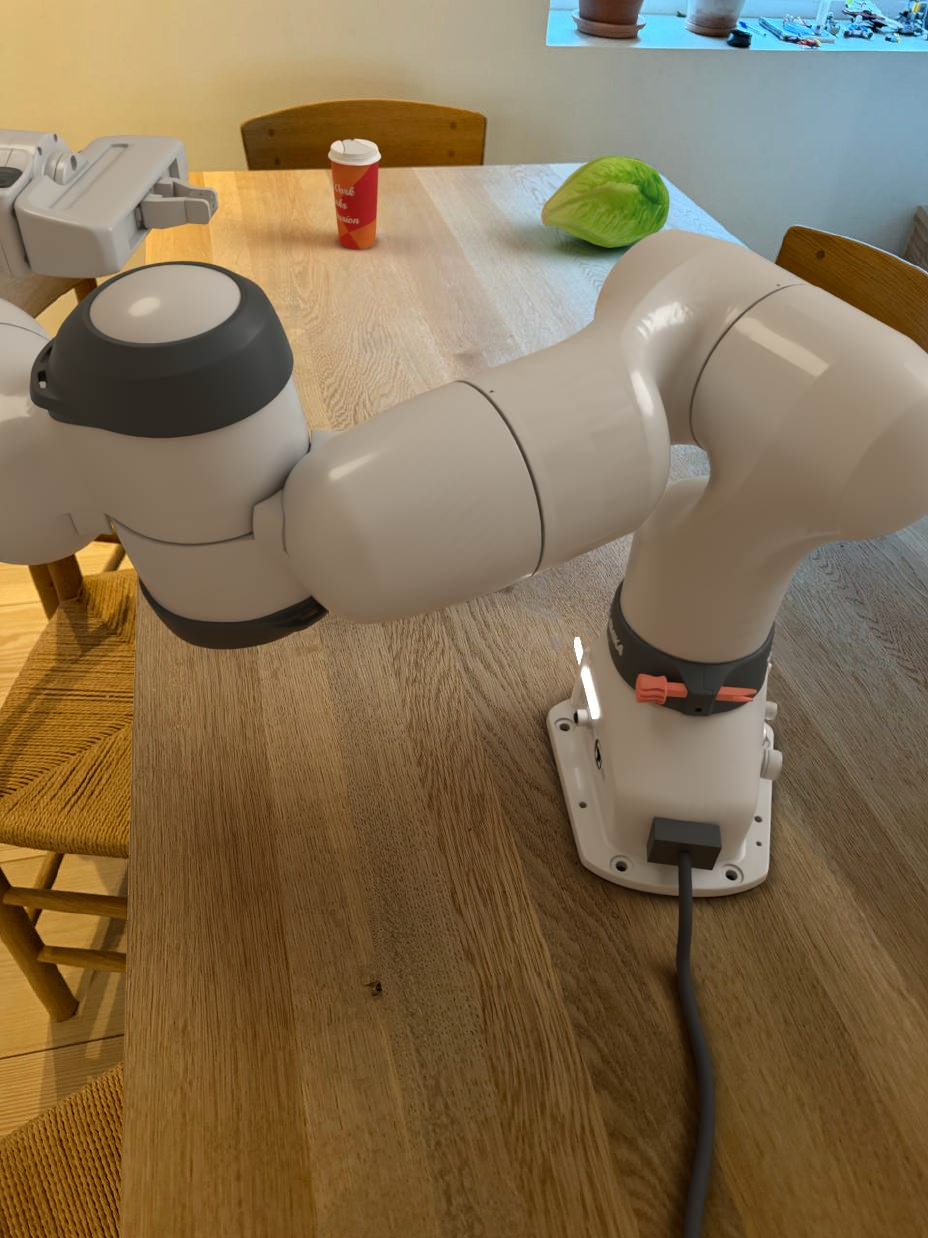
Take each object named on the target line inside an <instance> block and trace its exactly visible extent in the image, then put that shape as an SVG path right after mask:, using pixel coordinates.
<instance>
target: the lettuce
mask: <svg viewBox="0 0 928 1238" xmlns="http://www.w3.org/2000/svg"><path fill="white" fill-rule="evenodd" d="M669 212H670V193H669V190H668V188H667V186H666V184H665V182H664V180H663V179H662V177H661V175H660V173H659V172H658V170H657V169H655V168H654V167H653V166H651V165H649V164H647V163H645V162H644V161H642V160H641V159H639V158H634V157H630V156H622V155H608V156H607V155H606V156H600V157H599V156H598V157H596V158H594V159H592V160H591V161H588V162H587V163H584V164H582V165H581V166H579V167H578V168H577V169H576V170H575V171H573V172H572V173H571V174H570V175H569V176H567V178H566V179H565V180H564V182H563V183H561V185H560V186H559V187H558V189H557V190H556V191H555V192H554V193H553V194H552V195H551V196H550V197H549V198H548V199H547V201H546V202H545V203H544V205H543V207H542V209H541V213H540V215H541V216H540V217H541V221H542V224H543V225H544V226H546V227H555V228H558V229H560V230H563V231H565V232H566V233H567V234H569V235H571V236H574V237H575V238H578V239H580V240H584V241H586V242H588V243H590V244H593V245H596V246H599V247H602V248H606V249H609V248H610V249H611V248H621V247H627V246H631V245H632V246H634V245H635V244H636V243H638V242H639V241H640V240H642V239H644V238H645V237H647V236H649V235H651V234H653V233H656V232H659V231H661V229H663V228H664V226H665V225H666V223H667V220H668V218H669Z"/></svg>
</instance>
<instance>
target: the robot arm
mask: <svg viewBox="0 0 928 1238" xmlns="http://www.w3.org/2000/svg"><path fill="white" fill-rule="evenodd" d="M187 159H188V157H187V151H186V148H185V144H184V142H183V141H182V140H180V139H178V138H176V137H172V136H169V135H168V136H167V135H146V134H145V135H143V134H142V135H139V134H138V135H137V134H136V135H134V134H117V135H116V134H115V135H106V136H105V135H104V136H100V137H97V138H95V139H93V140H92V141H90V142H89V143H88V144H87V145H86V146H85V147H84V148H83V149H81V150H78V151H72V150H71V148H70V147H69V145H68V143H67V142H66V141H65V140H64V139H63V137H61V136H60V135H59V134H58V133H55V132H50V131H37V130H25V129H24V130H23V129H9V128H0V267H1V270H2V273H3V275H4V276H5V277H7V278H9V279H10V278H12V279H29V278H31V277H33V276H34V275H35V274H37V275H40V276H43V277H53V278H68V279H70V278H71V279H100V278H105V277H109V276H112V275H114V276H112V277H110V278H108V279H106V280H105V281H103V282H102V283H100V284H99V285H97V287H95V288H94V289H93V290H92V291H91V292H89V293H88V294H87V295H86V296H85V297H84V298H82V300H80V302H79V303H78V304H77V305H76V306H75V307H74V308H73V309H72V310H71V312H70V313H69V314H68V315H67V316H66V318H65V319H64V320H63V322H62V323H60V326H59V328H58V330H57V332H56V335H55V336H52V335H51V334H50V332H48V331H47V329H46V328H44V326H43V325H42V324H40V323H39V322H38V321H37V320H36V319H35V318H34V317H32V315H30V314H29V313H27V312H26V311H24V310H23V309H22V308H20V307H18V305H16V304H13V303H11V302H10V301H8V300H6V299H4V298H2V297H0V563H3V564H7V565H13V566H37V565H39V566H40V565H45V564H50V563H53V562H57V561H61V560H64V559H66V558H68V557H70V556H73V555H74V554H76V553H78V552H80V551H81V550H83V549H85V548H86V547H88V546H89V545H90V544H91V543H92V542H94V541H95V540H96V539H97V538H98V537H99V536H100V535H108V536H112V535H114V533H116V535H117V537H118V540H119V541H120V544H121V545H122V547H123V550H124V552H125V553H126V556H127V558H128V560H129V561H130V563H131V565H132V566H133V568H134V571H135V573H136V574H137V577H138V584H139V587H140V590H141V593H142V595H143V597H144V599H145V600H146V602H147V603H148V605H149V606H150V608H151V609H152V611H153V613H155V614H156V616H157V618H158V619H159V620H160V621H161V622H162V623H163V624H164V625H165V626H166V628H167V629H168V630H169V631H170V632H172V634H173V635H175V636H176V637H177V638H179V639H180V640H182V641H183V642H184V643H187V644H189V645H192V646H195V647H197V648H198V647H199V648H203V649H209V650H221V651H222V650H225V651H226V650H240V649H248V648H253V647H259V646H264V645H267V644H270V643H273V642H277V641H279V640H282V639H284V638H286V637H288V636H290V635H292V634H294V633H298V632H302V631H304V630H306V629H309V628H310V627H312V626H313V625H315V624H316V623H318V622H320V621H321V620H323V619H324V617H326V616H327V615H328V614H329V613H330V614H333V615H334V616H336V617H338V618H339V619H341V620H344V621H347V622H350V623H354V624H359V625H376V624H377V625H378V624H382V623H387V622H393V621H398V620H403V619H408V618H413V617H416V616H420V615H425V614H427V613H432V612H436V611H440V610H443V609H447V608H450V607H452V606H453V607H454V606H457V605H460V604H463V603H466V602H471V601H473V600H475V599H479V598H481V597H484V596H487V595H490V594H493V593H495V592H499V591H501V590H503V589H505V588H508V587H511V586H513V585H515V584H518V583H520V582H523V581H526V580H527V579H530V578H532V577H535V576H537V575H539V574H541V573H543V572H546V571H548V570H551V569H553V568H555V567H557V566H560V565H562V564H564V563H566V562H569V561H571V560H574V559H576V558H578V557H580V556H583V555H585V554H587V553H589V552H592V551H594V550H596V549H598V548H600V547H603V546H605V545H607V544H609V543H612V542H614V541H616V540H619V539H621V538H623V537H625V536H628V535H630V534H632V533H633V535H632V539H631V545H630V549H629V554H628V558H627V562H626V567H625V572H624V573H625V574H624V577H623V578H622V580H620V583H619V584H618V586H617V588H616V590H615V593H614V595H613V597H612V601H611V602H610V605H609V611H608V616H607V617H608V618H607V625H606V631H604V632H603V633H602V634H600V635H599V636H598V638H596V639H595V640H594V641H593V642H591V643H590V644H588V646H587V647H585V648H584V649H583V647H582V644H581V643H582V642H581V639H580V637H579V636H577V637H575V638H574V644H573V646H574V650H575V653H576V658H577V661H578V668H577V672H576V676H575V680H574V683H573V688H572V692H571V695H570V698H567V699H565V700H563V701H561V702H559V703H557V704H555V705H554V706H552V707H551V708H550V709H549V711H548V713H547V717H546V718H545V719H546V720H545V725H546V728H547V731H548V737H549V740H550V744H551V749H552V752H553V757H554V760H555V761H554V762H555V765H556V769H557V773H558V777H559V781H560V785H561V789H562V793H563V797H564V801H565V805H566V809H567V810H566V811H567V813H568V817H569V822H570V826H571V830H572V833H573V838H574V842H575V844H576V850H577V854H578V857H579V860H580V863H581V865H583V867H584V868H586V869H587V870H589V871H590V872H591V873H593V874H595V875H596V876H598V877H600V878H602V879H603V880H606V881H608V882H611V883H613V884H616V885H619V886H621V887H624V888H627V889H632V890H636V891H638V892H639V891H640V892H645V893H651V894H657V895H663V896H674V897H678V926H677V927H678V929H677V938H676V939H677V940H676V952H675V955H676V956H675V960H676V961H675V967H676V979H677V987H678V994H679V999H680V1005H681V1009H682V1012H683V1017H684V1021H685V1025H686V1029H687V1032H688V1036H689V1040H690V1044H691V1048H692V1052H693V1056H694V1061H695V1065H696V1072H697V1079H698V1080H697V1081H698V1093H699V1114H698V1115H699V1117H698V1119H699V1120H698V1130H697V1132H698V1133H697V1140H696V1146H695V1147H696V1148H695V1153H694V1160H693V1164H692V1165H693V1166H692V1170H691V1176H690V1180H689V1181H690V1182H689V1188H688V1192H687V1198H686V1206H685V1213H684V1220H683V1229H682V1238H701V1232H702V1221H703V1214H704V1207H705V1200H706V1195H707V1194H706V1193H707V1188H708V1183H709V1178H710V1177H709V1176H710V1172H711V1171H710V1170H711V1165H712V1157H713V1151H714V1143H715V1142H714V1141H715V1133H716V1092H715V1091H716V1089H715V1081H714V1080H715V1079H714V1073H713V1067H712V1062H711V1058H710V1054H709V1053H710V1052H709V1049H708V1046H707V1045H708V1044H707V1042H706V1037H705V1035H704V1030H703V1028H702V1024H701V1020H700V1016H699V1013H698V1009H697V1005H696V1000H695V995H694V989H693V981H692V972H691V949H692V947H691V945H692V939H693V937H692V936H693V908H694V907H693V906H694V905H693V898H710V897H711V898H712V897H713V898H715V897H722V896H723V897H724V896H730V895H735V894H739V893H743V892H745V891H749V890H751V889H753V888H756V887H758V886H759V885H761V884H762V883H764V882H765V881H766V879H767V877H768V873H769V869H770V855H771V854H770V851H771V849H770V848H771V825H772V824H771V823H772V795H773V782H775V781H778V780H779V778H780V775H781V772H782V766H783V753H782V752H781V751H780V750H777V749H774V745H775V743H774V741H775V740H774V739H775V735H774V730H773V729H772V726H770V725H769V724H768V723H767V722H766V721H765V720H768V721H770V720H771V721H775V719H776V717H777V713H778V704H777V703H776V702H773V701H769V700H767V694H768V693H767V692H768V679H769V678H768V676H769V674H770V672H771V669H772V667H773V666H772V665H773V664H772V663H771V658H772V654H773V650H774V649H773V648H774V637H775V631H776V621H775V619H776V616H777V614H778V611H779V609H780V607H781V605H782V602H783V599H784V597H785V595H786V593H787V591H788V588H789V586H790V584H791V582H792V580H793V578H794V577H795V574H796V572H797V570H798V568H799V567H800V566H801V564H802V562H804V560H805V559H806V558H807V557H808V556H809V555H810V554H811V553H812V552H813V551H815V550H816V549H818V548H820V547H822V546H824V545H827V544H829V543H835V542H839V541H841V542H842V541H844V542H846V541H847V542H848V541H849V542H853V541H854V542H860V541H868V540H873V539H879V538H882V537H885V536H889V535H891V534H894V533H896V532H899V531H901V530H904V529H905V528H909V526H912V525H913V524H915V523H916V522H918V521H919V520H921V519H922V518H924V517H926V516H927V515H928V353H927V351H925V350H924V349H923V348H922V347H920V345H919V344H918V343H917V342H915V341H914V340H913V339H911V338H910V337H908V336H907V335H905V334H903V333H902V332H900V331H898V330H897V329H895V328H893V327H891V326H889V325H887V324H886V323H884V322H882V321H880V320H878V319H877V318H875V317H873V316H871V315H869V314H867V313H866V312H864V311H862V310H861V309H858V308H857V307H855V306H853V305H851V304H850V303H849V302H846V301H844V300H843V299H841V298H839V297H837V296H835V295H833V294H831V293H830V292H829V291H826V290H824V289H823V288H821V287H819V286H816V285H813V284H812V283H810V282H808V281H806V280H805V279H803V278H801V277H799V276H798V275H796V274H794V273H792V272H790V271H788V270H787V269H785V268H783V267H781V266H780V265H777V264H776V263H774V262H772V261H771V260H768V259H767V258H765V257H764V256H762V255H760V254H758V253H757V252H755V251H754V250H751V249H749V248H747V247H746V246H744V245H741V244H740V243H736V242H734V241H730V240H726V239H723V238H719V237H715V236H712V235H708V234H703V233H698V232H693V231H688V230H684V229H679V228H669V229H663V230H659V231H658V232H656V233H653V234H651V235H649V236H647V237H645V238H644V239H642V240H640V241H639V242H638V243H635V244H633V245H632V246H631V247H629V249H628V250H626V252H624V253H623V255H622V256H620V258H619V259H617V261H616V262H615V264H614V265H613V267H612V268H611V269H610V271H609V273H608V274H607V276H606V278H605V280H604V281H603V283H602V285H601V288H600V291H599V293H598V296H597V298H596V299H597V300H596V303H595V307H594V312H593V319H592V320H591V321H590V322H589V323H588V324H587V325H585V326H584V327H582V328H581V329H580V330H578V331H577V332H576V333H574V334H572V335H570V336H569V337H567V338H564V339H563V340H561V341H559V342H556V343H554V344H552V345H550V346H547V347H544V348H541V349H539V350H536V351H534V352H531V353H528V354H525V355H523V356H521V357H518V358H515V359H512V360H509V361H506V362H504V363H501V364H499V365H496V366H493V367H491V368H488V369H485V370H482V371H480V372H477V373H475V374H471V375H469V376H466V377H462V378H460V379H457V380H453V381H452V382H451V381H450V382H448V383H445V384H443V385H440V386H438V387H434V388H432V389H429V390H426V391H423V392H421V393H419V394H417V395H415V396H413V397H410V398H408V399H405V400H403V401H401V402H398V403H396V404H394V405H392V406H390V407H387V408H386V409H384V410H382V411H380V412H378V413H375V414H374V415H372V416H369V417H368V418H366V419H364V420H362V421H360V422H358V423H356V424H355V425H353V426H351V427H349V428H347V429H345V430H344V429H343V430H321V429H319V430H317V429H312V430H310V432H309V428H308V423H307V420H306V415H305V411H304V408H303V404H302V400H301V397H300V394H299V390H298V387H297V383H296V381H295V378H294V374H293V370H294V363H295V362H294V361H295V360H294V353H293V350H292V347H291V344H290V341H289V339H288V337H287V333H286V332H285V329H284V326H283V324H282V321H281V319H280V317H279V315H278V313H277V312H276V309H275V308H274V306H273V305H274V304H273V303H272V301H271V300H270V298H269V297H268V296H267V294H266V292H265V291H264V289H263V288H262V287H261V286H260V285H259V284H257V283H256V282H255V281H253V280H252V279H250V278H249V277H246V276H243V275H241V274H239V273H237V272H235V271H232V270H230V269H228V268H226V267H224V266H220V265H217V264H213V263H209V262H203V261H195V260H172V261H171V260H170V261H162V262H154V263H151V264H150V263H149V264H145V265H141V266H137V267H135V268H131V269H128V270H125V271H123V272H121V271H122V270H123V269H124V267H125V266H126V265H127V263H128V262H129V261H130V259H131V258H132V257H133V255H134V254H135V253H136V252H137V250H138V249H139V247H140V246H141V244H142V243H143V242H144V241H145V239H146V238H147V237H148V235H149V234H150V233H151V231H152V230H154V229H155V230H166V229H170V228H176V227H179V226H185V225H188V224H190V225H203V226H204V225H205V226H206V225H208V224H209V223H210V221H211V220H212V218H213V217H214V215H215V214H216V212H217V211H218V209H219V206H220V205H219V198H218V196H219V195H218V192H217V191H216V189H215V188H213V187H208V186H207V187H206V186H196V185H194V184H191V183H189V180H190V173H189V165H188V160H187ZM118 273H119V274H118ZM679 445H683V446H685V445H686V446H693V447H697V448H699V449H700V450H703V451H704V452H705V453H706V455H707V459H708V464H709V474H708V475H699V476H690V477H686V478H683V479H679V480H677V481H675V482H672V483H671V484H668V481H669V477H670V473H671V472H670V471H671V463H672V462H671V460H672V459H671V458H672V452H671V451H672V449H671V447H672V446H679ZM667 484H668V485H667ZM114 531H115V532H114ZM565 730H566V731H565ZM618 867H621V868H623V869H624V871H621V870H619V869H618ZM727 876H729V877H730V876H731V877H732V878H733V880H731V879H729V878H728V877H727Z"/></svg>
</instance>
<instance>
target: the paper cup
mask: <svg viewBox="0 0 928 1238" xmlns="http://www.w3.org/2000/svg"><path fill="white" fill-rule="evenodd" d="M329 149H330V151H328V154H327V157H328V159H329V160H330V166H331V176H332V177H331V178H332V186H333V187H332V188H333V196H334V197H333V198H334V206H335V216H336V224H337V235H338V241H339V244H340V245H341V246H342V247H344V248H347V249H350V250H367V249H370V248H372V247H373V246H375V245H376V236H377V235H376V234H377V219H378V218H377V217H378V216H377V215H378V195H379V194H378V189H379V166H380V165H379V163H380V160H381V159H382V155H381V153H380V151H379V147H378V145H377V143H375V142H373V141H370V140H368V139H361V138H353V140H352V139H351V138H349V139H343V140H342V141H341V140H336V141H334V142H332V144H331V145H330V148H329Z"/></svg>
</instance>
